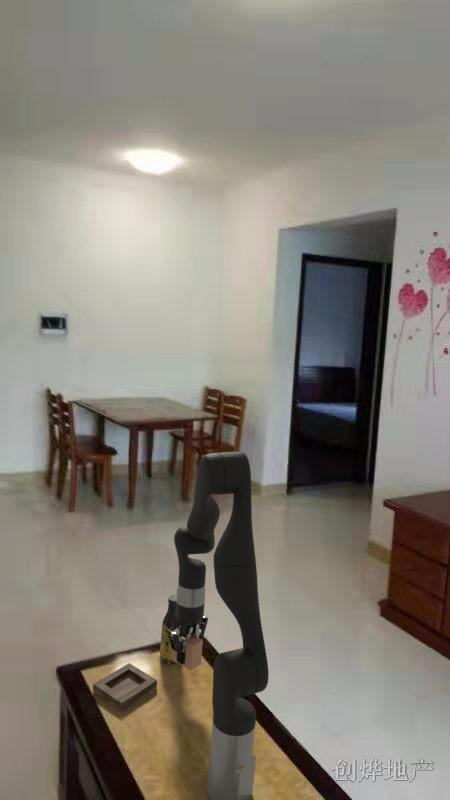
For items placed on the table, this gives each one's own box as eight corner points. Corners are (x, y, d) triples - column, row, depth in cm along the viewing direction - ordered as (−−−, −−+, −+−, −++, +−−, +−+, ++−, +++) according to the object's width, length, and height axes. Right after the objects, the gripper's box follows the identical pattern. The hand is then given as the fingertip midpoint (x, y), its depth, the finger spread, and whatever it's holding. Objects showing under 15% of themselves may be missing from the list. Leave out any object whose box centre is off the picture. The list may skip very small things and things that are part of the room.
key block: (201, 664, 162) (202, 640, 161) (191, 670, 159) (193, 646, 158) (181, 653, 166) (183, 630, 165) (171, 660, 163) (173, 635, 162)
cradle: (156, 688, 166) (157, 680, 165) (121, 711, 156) (121, 703, 155) (128, 671, 172) (129, 663, 172) (92, 692, 162) (93, 683, 162)
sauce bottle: (156, 654, 181) (160, 592, 178) (176, 651, 184) (180, 590, 180) (163, 667, 175) (168, 603, 172) (184, 663, 178) (188, 600, 174)
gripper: (183, 614, 152) (179, 677, 155) (218, 595, 163) (214, 654, 166) (161, 603, 157) (157, 664, 159) (197, 586, 168) (193, 643, 171)
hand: (186, 659), depth 163 cm, fingers closed on key block, 4 cm apart
